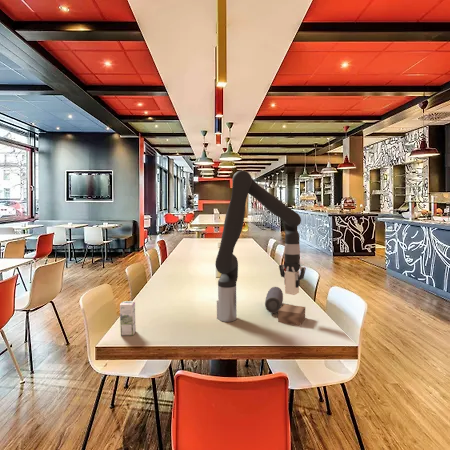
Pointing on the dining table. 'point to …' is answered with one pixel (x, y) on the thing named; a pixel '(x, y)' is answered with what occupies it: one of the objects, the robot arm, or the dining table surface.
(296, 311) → the walnut block
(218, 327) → the dining table surface
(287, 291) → the cream carton
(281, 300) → the bluetooth speaker
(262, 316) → the dining table surface
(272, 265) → the dining table surface
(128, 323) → the syrup box
